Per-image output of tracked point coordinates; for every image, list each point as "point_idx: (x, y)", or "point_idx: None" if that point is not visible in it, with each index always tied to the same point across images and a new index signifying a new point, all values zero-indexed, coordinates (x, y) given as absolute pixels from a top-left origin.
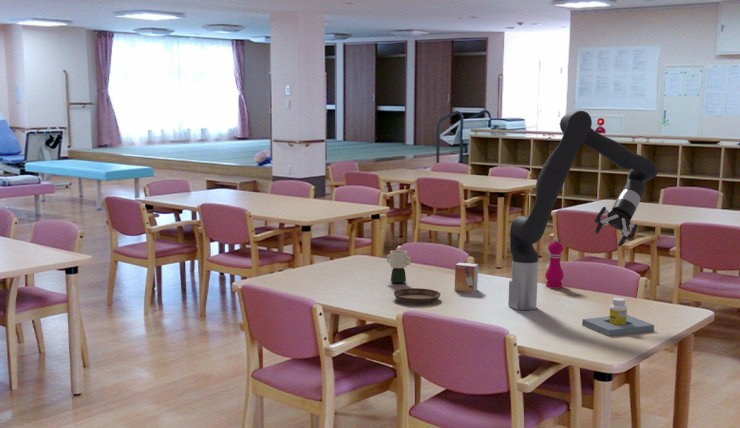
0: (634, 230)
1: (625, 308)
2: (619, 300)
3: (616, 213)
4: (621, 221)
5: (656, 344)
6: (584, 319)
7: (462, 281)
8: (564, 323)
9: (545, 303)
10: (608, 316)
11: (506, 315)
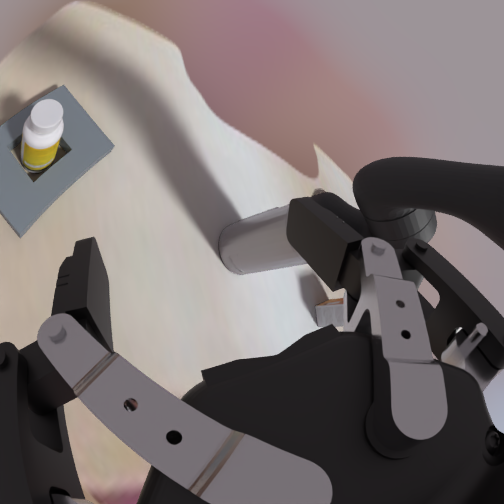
0: (3, 465)
1: (28, 117)
2: (47, 99)
3: (446, 461)
4: (272, 452)
5: None
6: (110, 144)
7: (337, 300)
8: (144, 154)
9: (219, 306)
10: (60, 191)
11: (239, 181)
